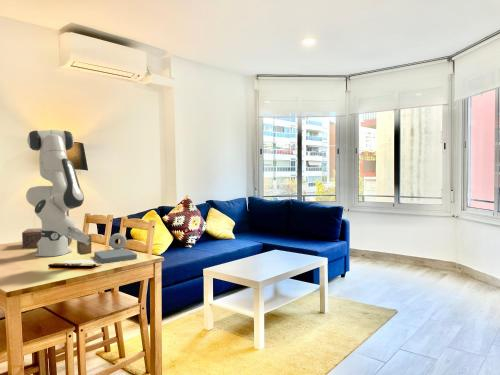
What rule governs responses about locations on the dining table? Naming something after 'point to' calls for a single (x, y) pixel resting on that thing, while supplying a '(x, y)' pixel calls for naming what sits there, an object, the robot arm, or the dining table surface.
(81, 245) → the walnut block
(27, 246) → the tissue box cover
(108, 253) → the base board
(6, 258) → the dining table surface
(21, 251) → the dining table surface
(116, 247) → the donut
